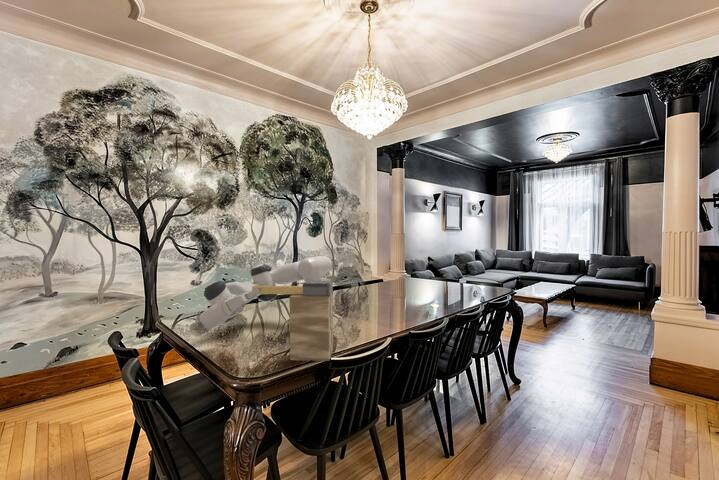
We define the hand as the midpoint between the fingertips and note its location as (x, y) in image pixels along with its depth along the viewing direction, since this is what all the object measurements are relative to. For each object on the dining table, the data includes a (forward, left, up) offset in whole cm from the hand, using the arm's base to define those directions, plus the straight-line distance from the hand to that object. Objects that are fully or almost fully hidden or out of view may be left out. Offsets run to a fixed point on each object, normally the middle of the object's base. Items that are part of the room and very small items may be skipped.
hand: (260, 288), depth 137 cm
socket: (0, +25, -2) cm, 25 cm away
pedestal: (0, +22, -28) cm, 36 cm away
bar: (0, +9, -2) cm, 9 cm away
